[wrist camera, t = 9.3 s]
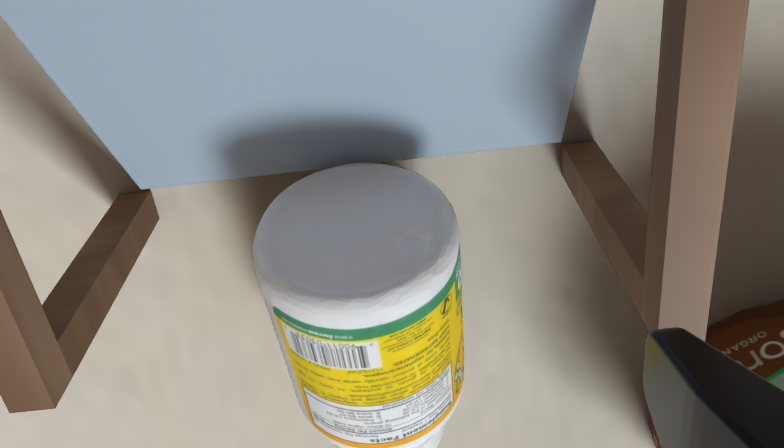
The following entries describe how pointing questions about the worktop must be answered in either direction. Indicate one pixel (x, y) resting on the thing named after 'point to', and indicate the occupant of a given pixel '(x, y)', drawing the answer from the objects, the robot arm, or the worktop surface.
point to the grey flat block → (305, 79)
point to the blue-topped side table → (579, 168)
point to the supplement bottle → (366, 302)
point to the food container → (750, 343)
